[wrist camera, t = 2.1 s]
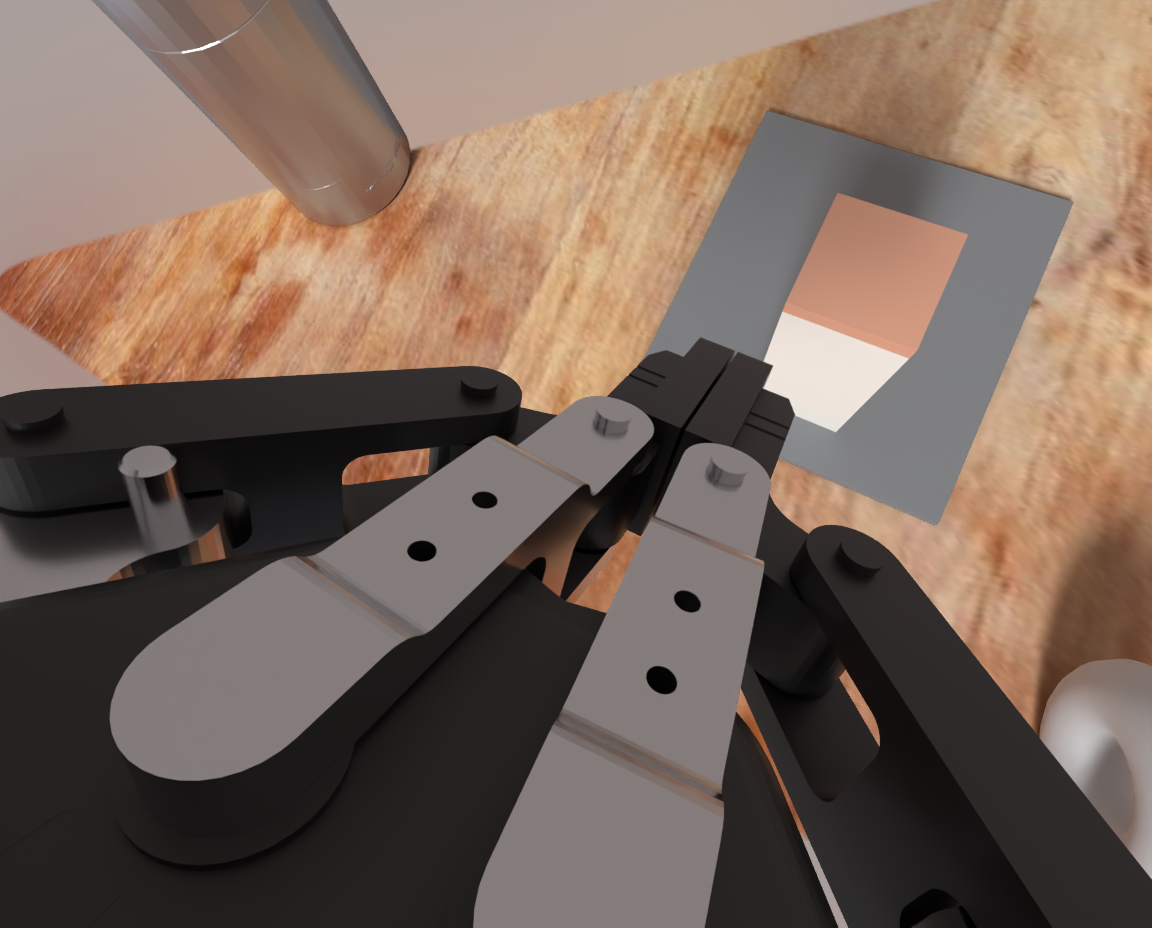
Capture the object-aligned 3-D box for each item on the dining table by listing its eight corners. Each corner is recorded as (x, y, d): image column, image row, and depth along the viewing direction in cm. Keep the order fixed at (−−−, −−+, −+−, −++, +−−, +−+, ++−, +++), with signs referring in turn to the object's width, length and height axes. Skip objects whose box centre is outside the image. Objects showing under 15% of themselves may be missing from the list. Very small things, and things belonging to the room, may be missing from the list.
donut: (1020, 643, 31) (1172, 666, 22) (1097, 653, 31) (1290, 681, 21) (1020, 859, 30) (1186, 988, 20) (1102, 875, 29) (1315, 1016, 19)
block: (749, 397, 36) (785, 302, 24) (785, 321, 36) (837, 192, 25) (835, 432, 34) (916, 350, 23) (871, 353, 35) (968, 234, 23)
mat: (628, 394, 37) (627, 391, 37) (765, 116, 39) (766, 110, 39) (934, 525, 33) (938, 524, 33) (1068, 207, 35) (1073, 201, 35)
